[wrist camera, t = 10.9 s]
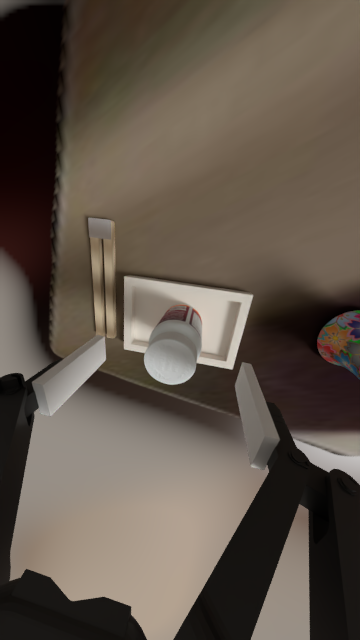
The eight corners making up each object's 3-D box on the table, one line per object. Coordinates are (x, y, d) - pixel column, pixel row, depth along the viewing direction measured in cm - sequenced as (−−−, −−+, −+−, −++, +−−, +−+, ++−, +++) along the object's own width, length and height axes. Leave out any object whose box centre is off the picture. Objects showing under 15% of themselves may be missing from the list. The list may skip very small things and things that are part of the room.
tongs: (93, 219, 24) (87, 217, 23) (114, 221, 24) (110, 220, 23) (99, 332, 31) (95, 335, 29) (116, 336, 30) (113, 339, 29)
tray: (130, 274, 26) (124, 276, 24) (249, 292, 24) (253, 295, 22) (129, 343, 30) (124, 349, 28) (230, 362, 29) (232, 369, 27)
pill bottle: (157, 327, 28) (127, 369, 17) (175, 295, 25) (155, 321, 15) (189, 346, 28) (180, 399, 17) (210, 316, 26) (214, 356, 15)
